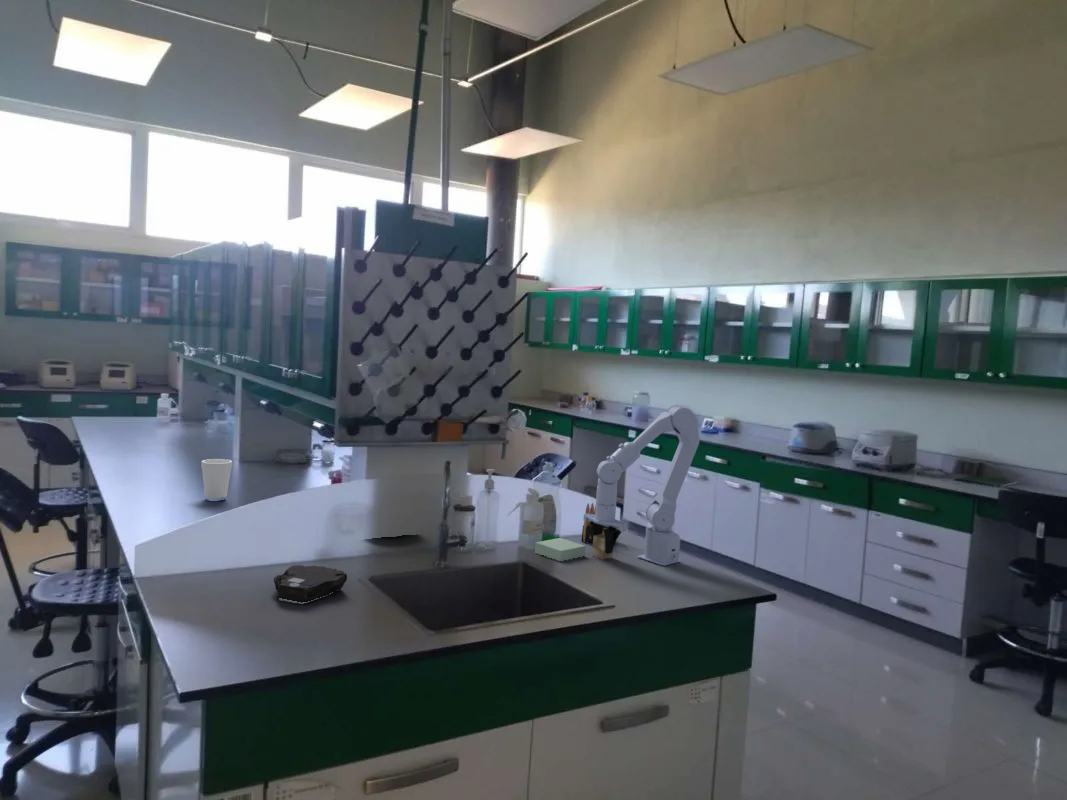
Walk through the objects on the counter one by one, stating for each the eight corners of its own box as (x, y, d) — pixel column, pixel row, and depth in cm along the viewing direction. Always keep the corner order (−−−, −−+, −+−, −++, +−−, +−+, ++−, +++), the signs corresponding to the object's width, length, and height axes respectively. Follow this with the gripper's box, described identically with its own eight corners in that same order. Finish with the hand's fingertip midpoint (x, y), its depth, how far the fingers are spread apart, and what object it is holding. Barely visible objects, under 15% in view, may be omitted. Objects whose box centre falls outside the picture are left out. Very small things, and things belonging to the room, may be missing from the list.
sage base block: (584, 556, 215) (585, 545, 215) (560, 561, 208) (560, 550, 208) (559, 547, 222) (560, 537, 222) (534, 552, 216) (535, 542, 215)
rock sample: (270, 583, 177) (271, 562, 176) (339, 579, 183) (340, 559, 182) (276, 609, 161) (277, 586, 160) (351, 604, 167) (352, 582, 166)
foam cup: (236, 500, 257) (238, 461, 256) (212, 504, 249) (213, 464, 248) (219, 495, 262) (220, 458, 261) (194, 499, 254) (195, 460, 253)
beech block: (612, 557, 216) (613, 536, 215) (602, 559, 213) (604, 538, 213) (601, 554, 219) (603, 533, 218) (592, 556, 216) (593, 535, 215)
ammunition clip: (585, 543, 229) (587, 504, 229) (581, 541, 231) (583, 502, 230) (611, 539, 236) (614, 501, 235) (607, 538, 237) (609, 500, 237)
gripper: (577, 500, 217) (574, 546, 218) (616, 510, 207) (612, 559, 208) (594, 497, 222) (590, 543, 223) (633, 507, 212) (629, 555, 213)
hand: (602, 551), depth 216 cm, fingers closed on beech block, 4 cm apart
